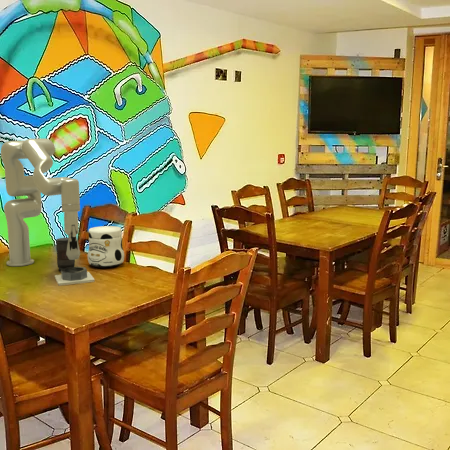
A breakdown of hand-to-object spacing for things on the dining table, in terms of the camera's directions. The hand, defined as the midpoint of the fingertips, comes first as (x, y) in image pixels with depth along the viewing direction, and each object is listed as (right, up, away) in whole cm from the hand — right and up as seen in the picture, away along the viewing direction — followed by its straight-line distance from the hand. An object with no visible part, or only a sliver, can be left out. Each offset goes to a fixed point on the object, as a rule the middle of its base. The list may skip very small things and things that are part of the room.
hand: (73, 249), depth 239 cm
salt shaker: (0, -4, +1) cm, 4 cm away
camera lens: (-8, -11, +18) cm, 23 cm away
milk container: (+8, -9, +28) cm, 30 cm away
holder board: (0, -13, +2) cm, 14 cm away
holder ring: (0, -13, +2) cm, 14 cm away
